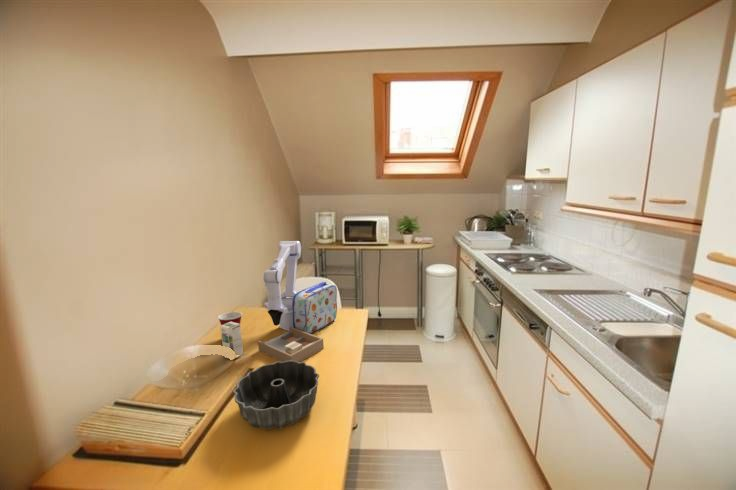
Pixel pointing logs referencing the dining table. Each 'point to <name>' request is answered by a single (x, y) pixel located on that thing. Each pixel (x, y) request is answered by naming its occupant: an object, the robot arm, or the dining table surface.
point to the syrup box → (232, 337)
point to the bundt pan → (277, 394)
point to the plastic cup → (230, 317)
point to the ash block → (293, 347)
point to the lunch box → (314, 307)
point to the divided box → (278, 344)
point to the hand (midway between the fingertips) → (276, 324)
